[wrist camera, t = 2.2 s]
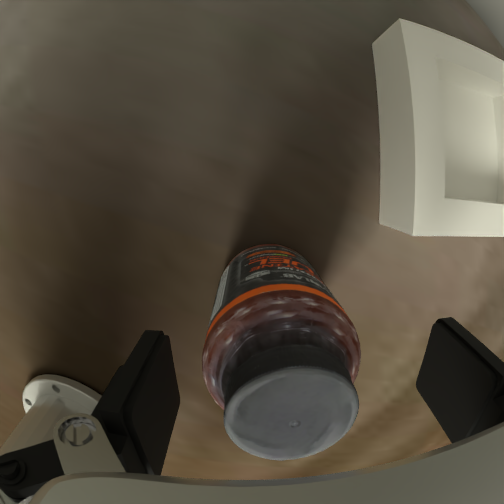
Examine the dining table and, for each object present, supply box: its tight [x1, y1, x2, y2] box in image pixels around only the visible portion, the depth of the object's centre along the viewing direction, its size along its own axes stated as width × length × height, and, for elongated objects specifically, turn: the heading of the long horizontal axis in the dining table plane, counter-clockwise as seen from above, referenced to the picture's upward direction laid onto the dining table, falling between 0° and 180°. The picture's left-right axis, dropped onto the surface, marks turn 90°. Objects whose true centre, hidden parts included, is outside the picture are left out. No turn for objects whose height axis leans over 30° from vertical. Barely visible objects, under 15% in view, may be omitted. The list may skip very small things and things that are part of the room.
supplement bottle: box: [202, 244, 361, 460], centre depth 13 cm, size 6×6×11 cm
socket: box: [372, 18, 504, 237], centre depth 14 cm, size 12×12×4 cm
